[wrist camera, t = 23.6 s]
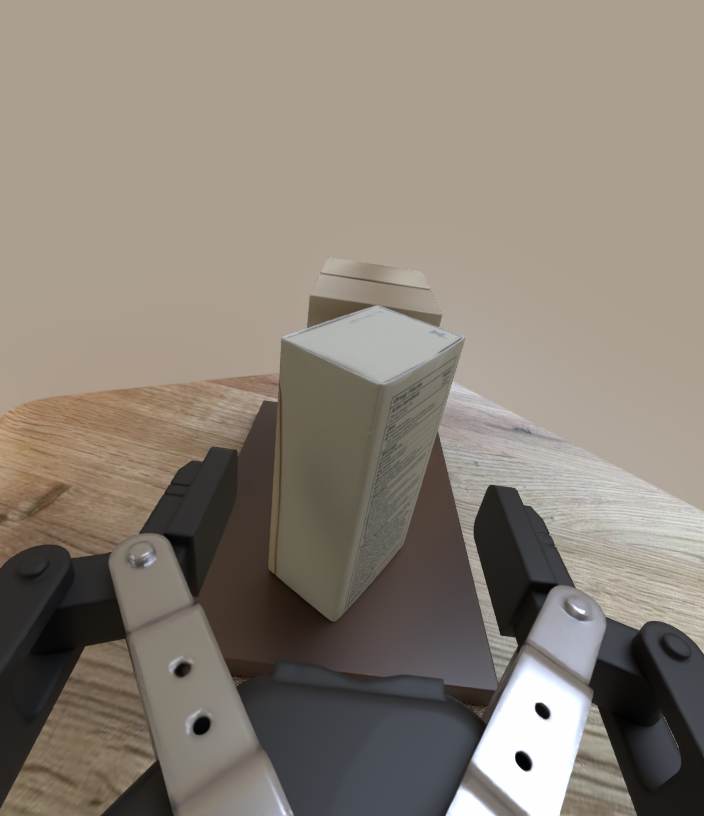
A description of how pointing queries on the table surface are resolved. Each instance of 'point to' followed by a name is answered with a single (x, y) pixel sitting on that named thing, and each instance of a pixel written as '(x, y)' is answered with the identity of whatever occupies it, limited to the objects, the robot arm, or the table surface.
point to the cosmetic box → (353, 447)
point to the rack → (394, 586)
